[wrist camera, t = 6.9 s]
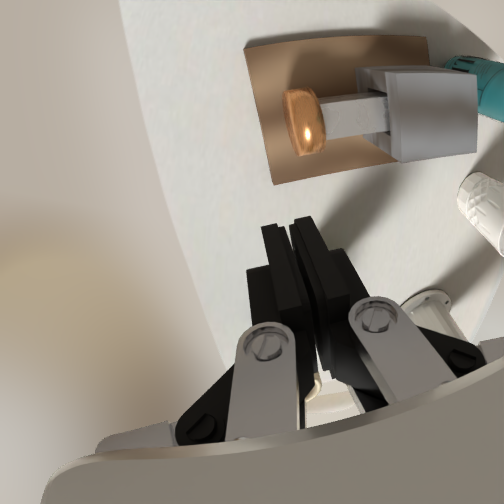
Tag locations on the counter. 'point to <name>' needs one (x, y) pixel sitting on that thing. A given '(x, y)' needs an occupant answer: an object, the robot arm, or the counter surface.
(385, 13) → the counter surface
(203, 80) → the counter surface
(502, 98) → the beverage bottle
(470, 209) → the white cup
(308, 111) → the shaft
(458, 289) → the counter surface
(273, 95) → the board
